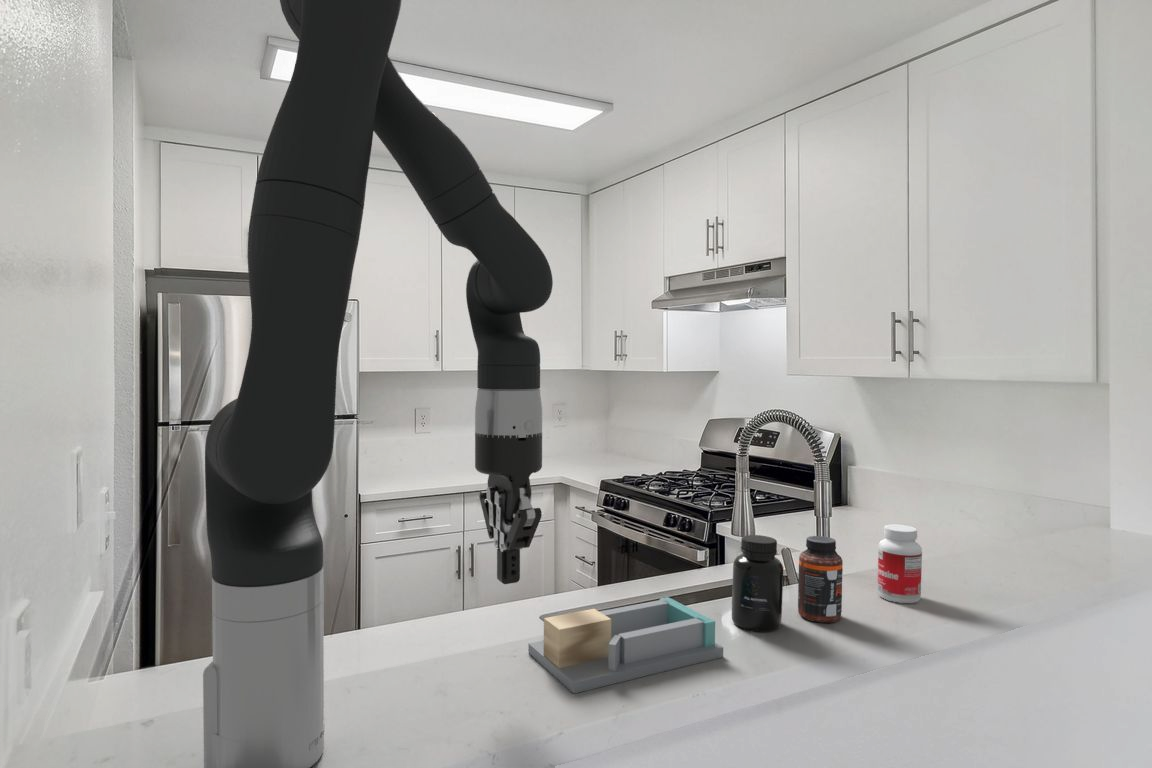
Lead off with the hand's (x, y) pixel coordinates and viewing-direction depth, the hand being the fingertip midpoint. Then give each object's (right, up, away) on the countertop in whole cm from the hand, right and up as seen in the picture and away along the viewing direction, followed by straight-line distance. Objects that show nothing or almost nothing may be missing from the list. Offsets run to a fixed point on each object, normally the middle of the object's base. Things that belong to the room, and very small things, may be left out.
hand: (508, 581), depth 79 cm
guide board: (+14, -11, +8) cm, 19 cm away
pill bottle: (+58, -11, +30) cm, 66 cm away
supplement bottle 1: (+33, -11, +19) cm, 39 cm away
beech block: (+8, -10, +5) cm, 14 cm away
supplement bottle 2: (+43, -11, +21) cm, 49 cm away
